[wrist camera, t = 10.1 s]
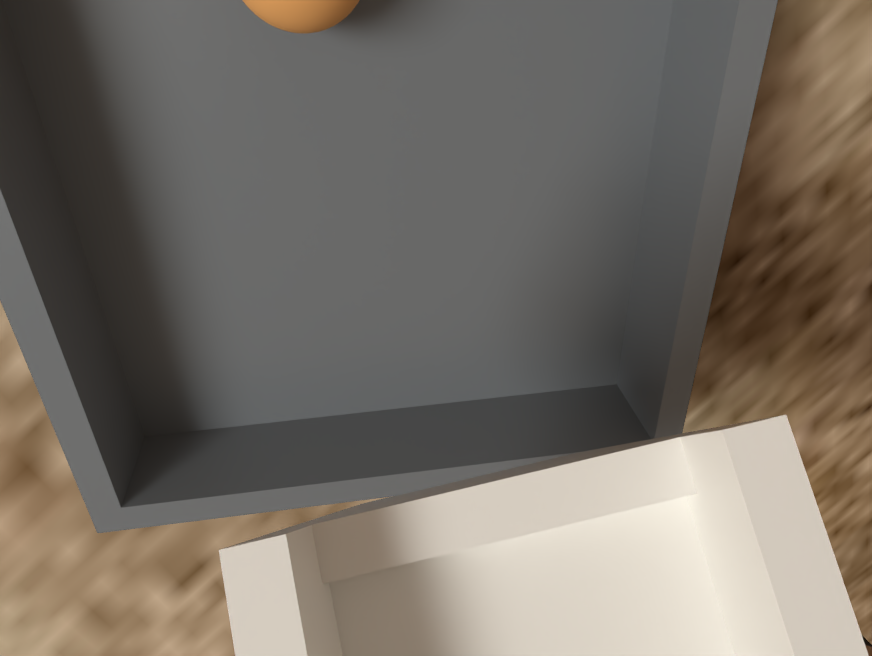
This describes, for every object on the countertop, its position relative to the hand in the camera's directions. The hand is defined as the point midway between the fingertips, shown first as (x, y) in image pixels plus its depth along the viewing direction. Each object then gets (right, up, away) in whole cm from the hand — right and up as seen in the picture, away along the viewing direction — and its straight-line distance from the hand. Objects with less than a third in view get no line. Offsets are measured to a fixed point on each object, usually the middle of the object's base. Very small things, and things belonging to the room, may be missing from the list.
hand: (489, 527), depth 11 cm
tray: (-3, +8, +11) cm, 14 cm away
